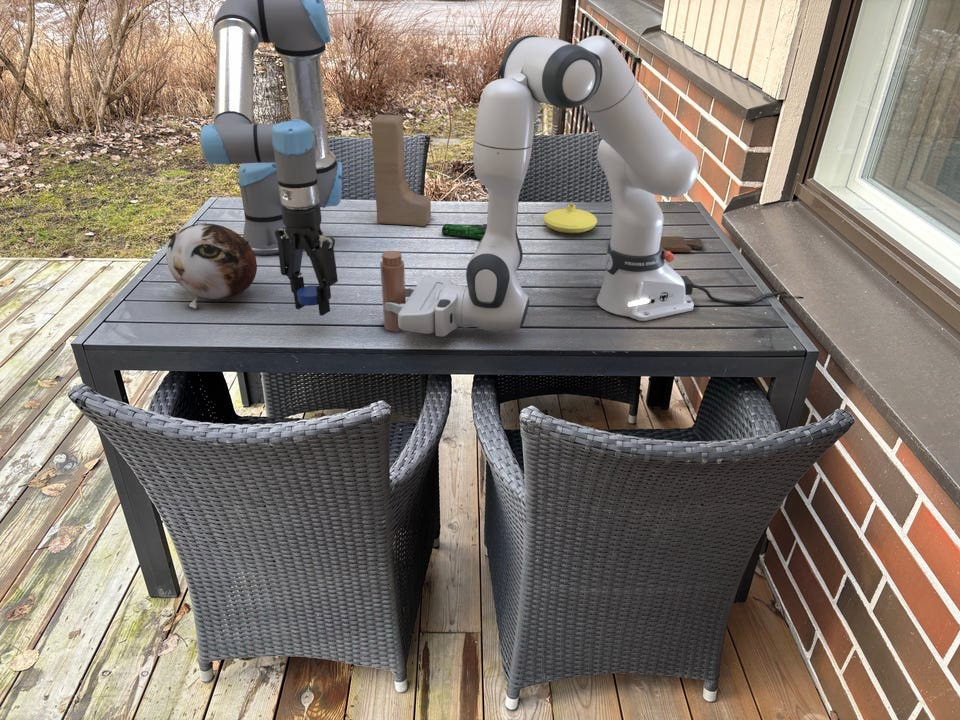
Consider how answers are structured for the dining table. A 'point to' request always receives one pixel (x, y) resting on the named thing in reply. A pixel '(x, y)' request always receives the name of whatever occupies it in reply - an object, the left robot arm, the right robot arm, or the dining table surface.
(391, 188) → the decorative block
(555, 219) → the yellow knobbed disc
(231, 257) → the brown and white balloon
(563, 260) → the dining table surface
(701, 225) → the dining table surface
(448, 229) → the handgun
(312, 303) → the lid
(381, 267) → the jar
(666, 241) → the wooden paddle board
